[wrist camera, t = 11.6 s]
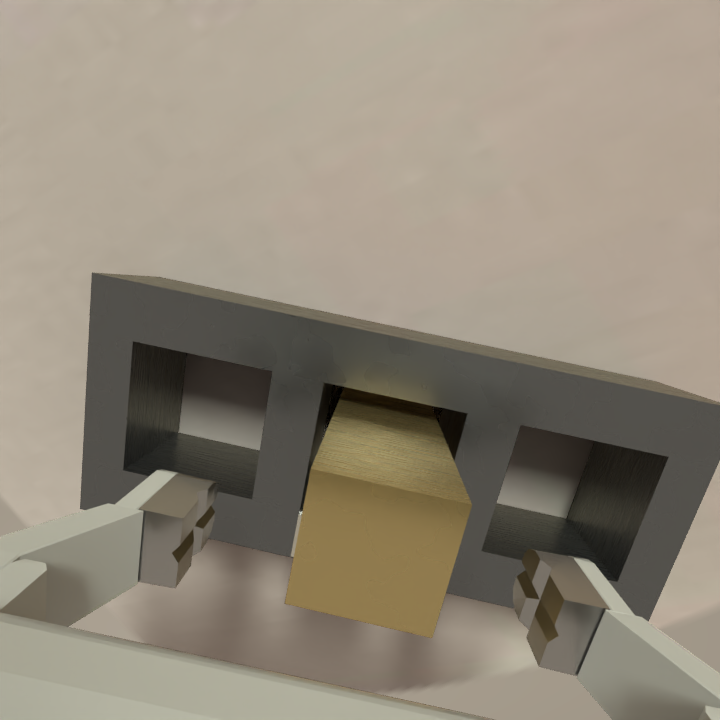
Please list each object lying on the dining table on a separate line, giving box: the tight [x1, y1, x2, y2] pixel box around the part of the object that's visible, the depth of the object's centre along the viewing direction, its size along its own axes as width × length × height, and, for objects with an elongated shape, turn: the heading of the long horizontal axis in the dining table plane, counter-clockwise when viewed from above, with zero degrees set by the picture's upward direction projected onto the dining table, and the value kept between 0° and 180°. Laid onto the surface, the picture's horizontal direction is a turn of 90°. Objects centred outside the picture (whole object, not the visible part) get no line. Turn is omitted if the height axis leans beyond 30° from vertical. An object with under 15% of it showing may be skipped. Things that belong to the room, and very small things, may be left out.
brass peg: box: [285, 387, 472, 638], centre depth 13 cm, size 4×4×9 cm
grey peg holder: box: [80, 273, 720, 621], centre depth 16 cm, size 24×10×4 cm, turn 78°
